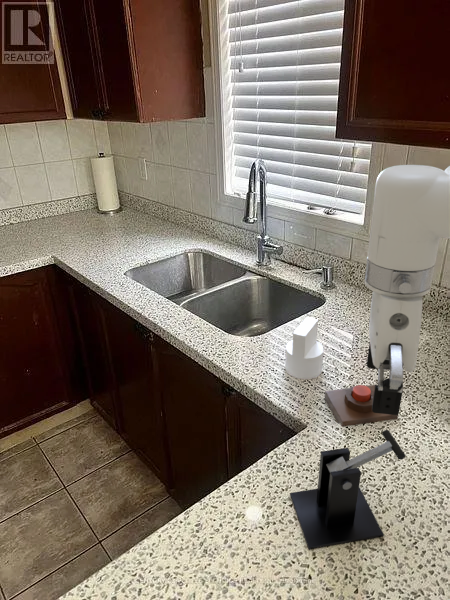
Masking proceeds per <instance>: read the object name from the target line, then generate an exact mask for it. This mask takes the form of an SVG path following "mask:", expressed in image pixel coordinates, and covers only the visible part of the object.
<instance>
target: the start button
mask: <svg viewBox="0 0 450 600" xmlns="http://www.w3.org/2000/svg"><path fill="white" fill-rule="evenodd" d="M354 386H355V387H354V388H353V394H352V396H353V398H354V399H355V400H357V401H360V402H367V401H369V400H370V395H371V390H370V389H369V388H368V387H366V386H367V385H364V384H357V385H354Z"/></svg>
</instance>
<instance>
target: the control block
mask: <svg viewBox="0 0 450 600" xmlns="http://www.w3.org/2000/svg"><path fill="white" fill-rule="evenodd" d="M375 385H376V384H370V385H365V386H366V387H368V388H369V389H370V390H371V395H370V400H369V401H367V402H360V401H357V400H355V399H354V398H353V396H352V394H353V388H354V387H355V386H356V385H353V386H352V385H351V386H350V387H346V388H338V389H330V390H325V391H324V401H325V402H326V404H327V406H328V408H329V409H330V411H331V413H332V415H333V417H334V419H335V420H336V423H337V424H340V425H341V427H348V426H356V425H362V424H369V423H376V422H384V421H385V422H386V421H392V420H398V419H399V414H398V415H390V414H381V413H374V412H373V411H372V404H373V397H374V390H375Z"/></svg>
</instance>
